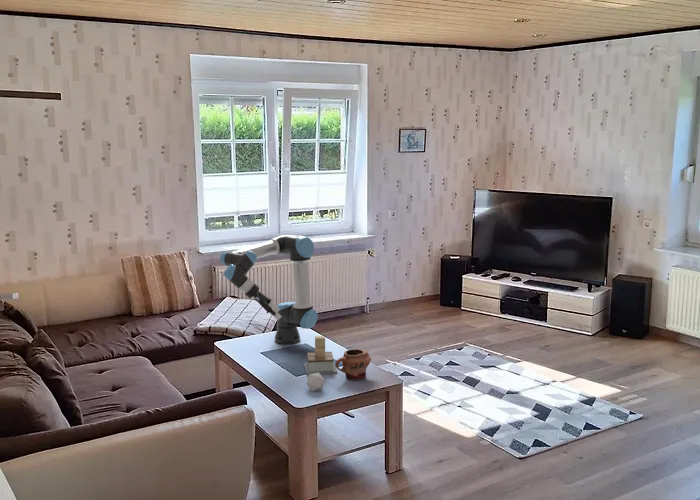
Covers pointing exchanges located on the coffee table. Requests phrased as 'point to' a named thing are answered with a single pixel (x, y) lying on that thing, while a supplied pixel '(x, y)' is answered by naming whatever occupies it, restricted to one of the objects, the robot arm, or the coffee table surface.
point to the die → (315, 381)
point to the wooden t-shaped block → (320, 352)
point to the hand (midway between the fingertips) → (279, 314)
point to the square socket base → (320, 368)
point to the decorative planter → (354, 364)
